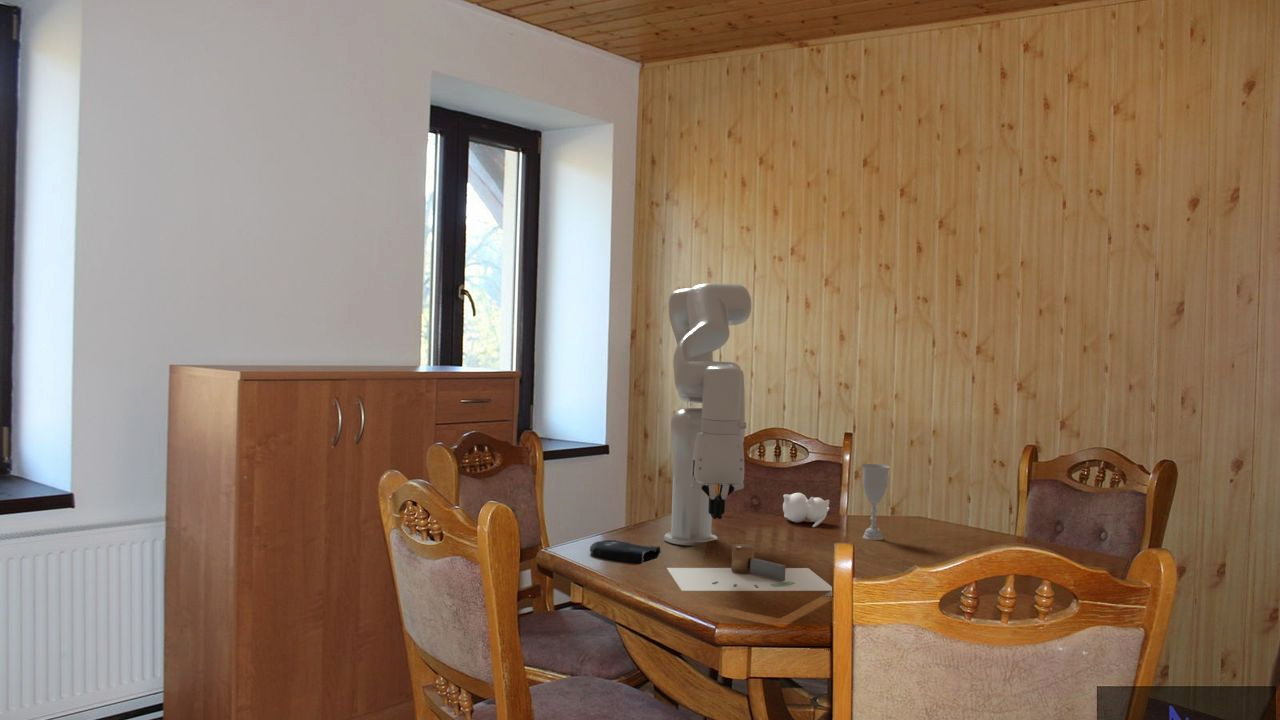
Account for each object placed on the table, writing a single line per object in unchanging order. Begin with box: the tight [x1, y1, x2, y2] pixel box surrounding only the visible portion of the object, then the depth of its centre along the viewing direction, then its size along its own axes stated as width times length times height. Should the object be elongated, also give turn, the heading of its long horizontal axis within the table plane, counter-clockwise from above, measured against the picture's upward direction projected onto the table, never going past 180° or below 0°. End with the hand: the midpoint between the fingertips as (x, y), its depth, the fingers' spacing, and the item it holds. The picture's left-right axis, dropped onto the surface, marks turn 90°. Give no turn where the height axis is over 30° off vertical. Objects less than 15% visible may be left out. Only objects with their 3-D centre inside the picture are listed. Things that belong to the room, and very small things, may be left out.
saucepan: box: [730, 543, 786, 581], centre depth 201 cm, size 13×4×5 cm, turn 44°
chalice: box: [861, 463, 891, 541], centre depth 250 cm, size 7×7×18 cm
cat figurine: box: [782, 492, 830, 528], centre depth 267 cm, size 9×11×12 cm
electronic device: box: [589, 539, 662, 564], centre depth 220 cm, size 9×6×15 cm
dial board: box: [666, 567, 833, 598], centre depth 199 cm, size 18×30×1 cm, turn 98°
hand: (716, 517), depth 203 cm, fingers closed
